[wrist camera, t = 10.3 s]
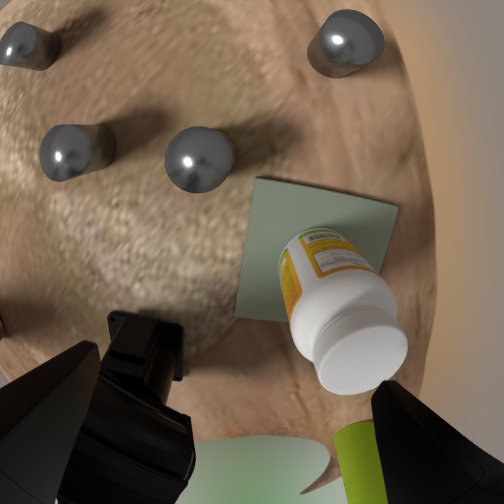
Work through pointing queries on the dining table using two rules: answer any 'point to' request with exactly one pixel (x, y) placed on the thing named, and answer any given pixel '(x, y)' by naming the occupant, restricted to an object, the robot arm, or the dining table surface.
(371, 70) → the dining table surface
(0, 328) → the sauce bottle
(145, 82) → the dining table surface
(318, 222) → the mat
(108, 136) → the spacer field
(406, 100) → the dining table surface
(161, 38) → the dining table surface
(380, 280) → the supplement bottle
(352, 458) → the soap dispenser
